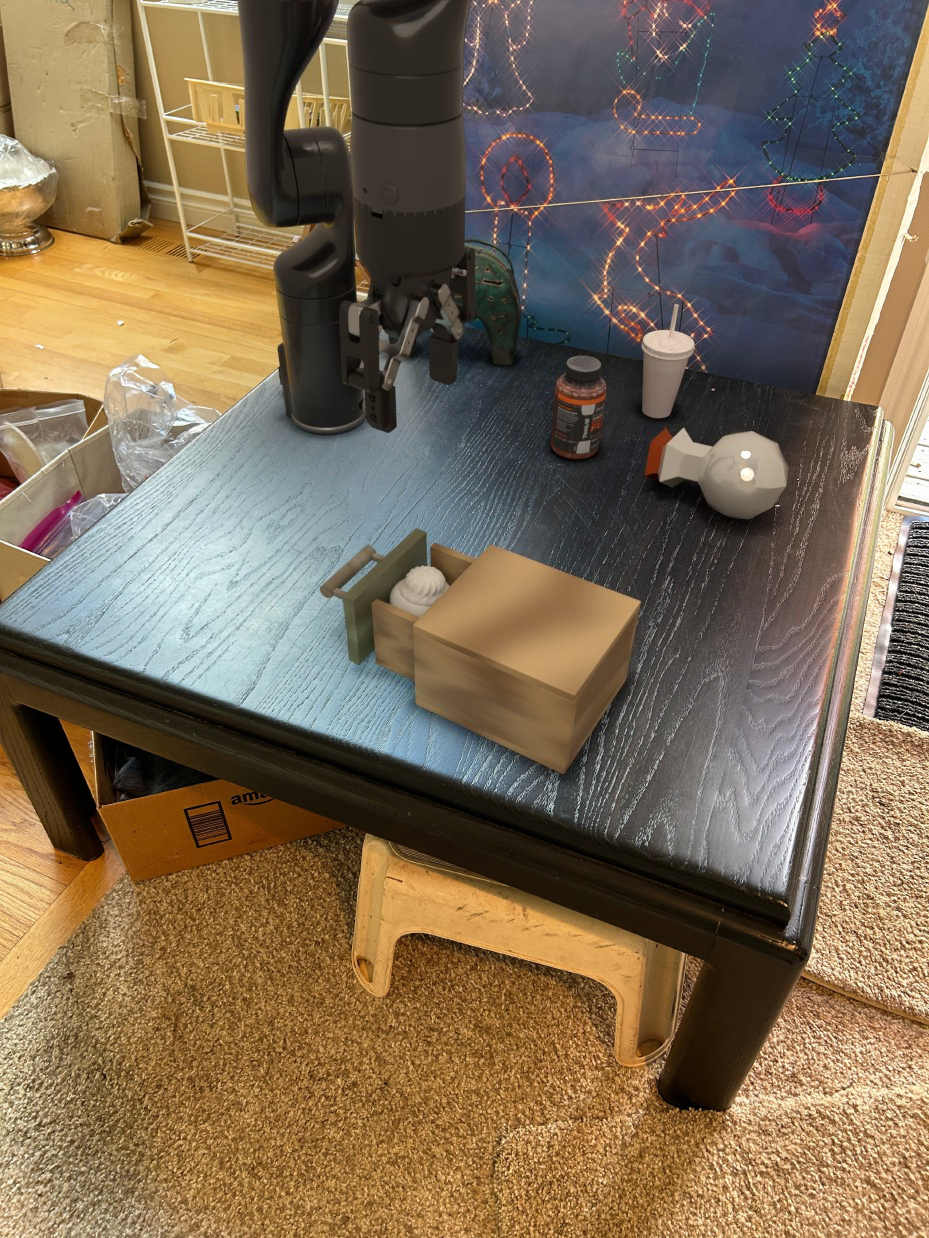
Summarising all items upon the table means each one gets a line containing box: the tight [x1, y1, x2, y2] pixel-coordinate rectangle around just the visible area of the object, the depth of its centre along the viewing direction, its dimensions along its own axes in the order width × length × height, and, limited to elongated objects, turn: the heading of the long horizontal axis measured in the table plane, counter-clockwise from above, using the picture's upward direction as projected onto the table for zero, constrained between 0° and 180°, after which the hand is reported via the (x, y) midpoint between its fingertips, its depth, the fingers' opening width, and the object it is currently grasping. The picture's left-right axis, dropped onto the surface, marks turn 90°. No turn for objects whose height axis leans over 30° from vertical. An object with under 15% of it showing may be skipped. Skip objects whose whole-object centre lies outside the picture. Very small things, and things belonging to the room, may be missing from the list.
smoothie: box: [641, 303, 695, 419], centre depth 113 cm, size 6×6×14 cm
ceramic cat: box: [388, 238, 522, 366], centre depth 122 cm, size 20×6×20 cm, turn 80°
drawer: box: [319, 527, 477, 683], centre depth 81 cm, size 18×11×8 cm, turn 59°
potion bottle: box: [644, 427, 790, 520], centre depth 100 cm, size 9×10×15 cm
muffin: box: [390, 565, 450, 617], centre depth 81 cm, size 6×6×7 cm
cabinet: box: [413, 543, 642, 775], centre depth 77 cm, size 15×13×10 cm
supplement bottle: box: [550, 355, 607, 460], centre depth 107 cm, size 6×6×11 cm
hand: (413, 404), depth 71 cm, fingers open, 8 cm apart
